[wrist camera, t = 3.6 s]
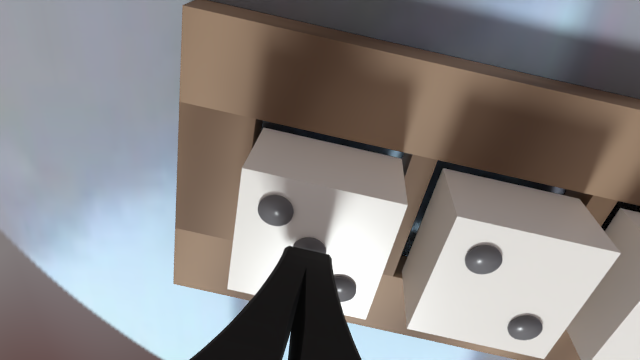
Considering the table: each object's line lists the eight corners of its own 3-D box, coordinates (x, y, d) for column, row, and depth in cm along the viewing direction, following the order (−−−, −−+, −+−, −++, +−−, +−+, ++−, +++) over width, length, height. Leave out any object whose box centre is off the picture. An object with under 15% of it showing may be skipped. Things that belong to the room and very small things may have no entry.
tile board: (880, 154, 15) (927, 175, 14) (670, 369, 21) (689, 397, 20) (199, -2, 15) (182, 5, 13) (185, 261, 21) (173, 283, 20)
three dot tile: (401, 158, 15) (407, 207, 13) (366, 263, 18) (365, 321, 15) (263, 127, 15) (241, 169, 13) (247, 236, 18) (226, 290, 15)
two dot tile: (579, 198, 16) (622, 255, 13) (519, 297, 18) (544, 361, 15) (442, 167, 15) (457, 218, 13) (401, 271, 18) (406, 330, 15)
